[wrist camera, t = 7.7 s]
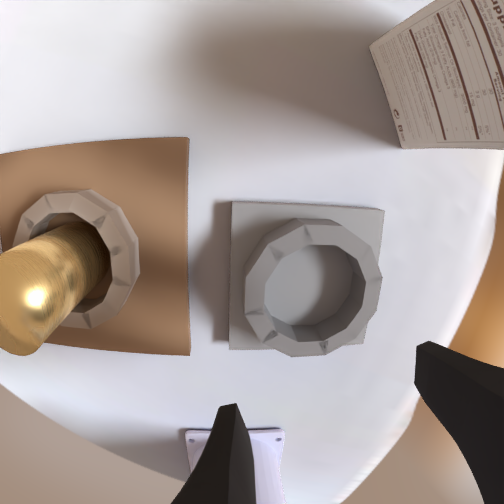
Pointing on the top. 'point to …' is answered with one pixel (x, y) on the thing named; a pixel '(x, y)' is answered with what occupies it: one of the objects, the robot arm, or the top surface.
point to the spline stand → (302, 276)
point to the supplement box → (446, 75)
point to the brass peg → (47, 283)
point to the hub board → (150, 214)
